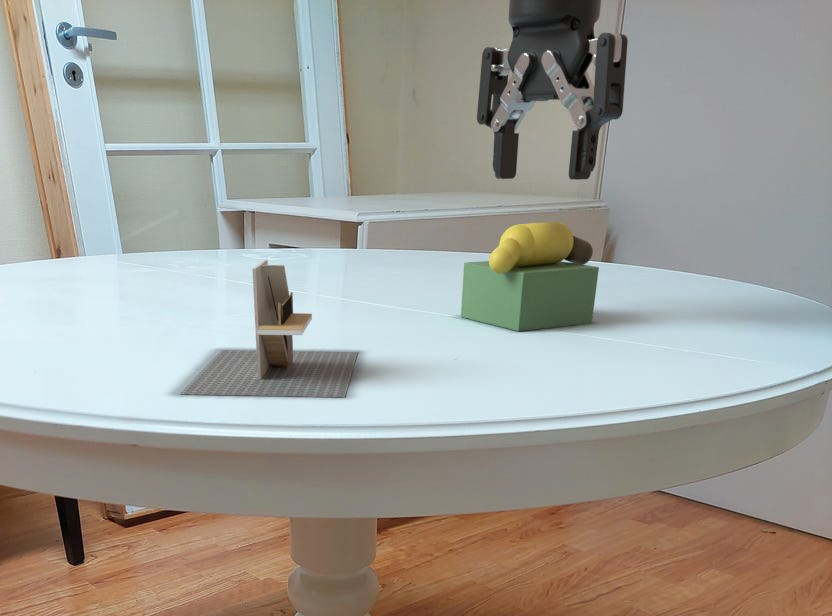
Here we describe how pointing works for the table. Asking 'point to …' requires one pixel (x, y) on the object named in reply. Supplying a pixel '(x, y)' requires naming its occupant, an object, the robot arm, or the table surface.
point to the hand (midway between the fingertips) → (540, 179)
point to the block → (529, 295)
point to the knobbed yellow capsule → (538, 247)
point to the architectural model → (275, 352)
